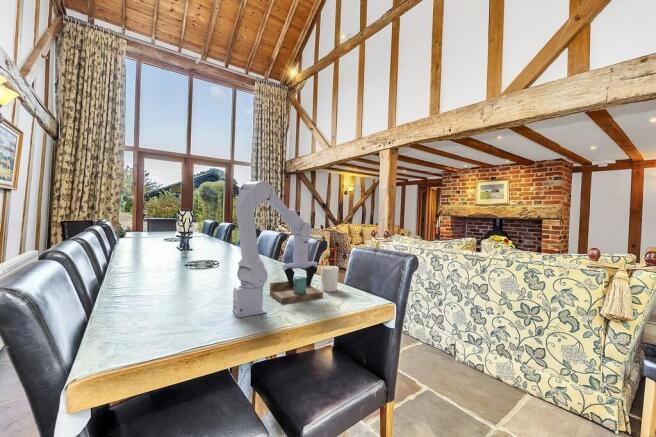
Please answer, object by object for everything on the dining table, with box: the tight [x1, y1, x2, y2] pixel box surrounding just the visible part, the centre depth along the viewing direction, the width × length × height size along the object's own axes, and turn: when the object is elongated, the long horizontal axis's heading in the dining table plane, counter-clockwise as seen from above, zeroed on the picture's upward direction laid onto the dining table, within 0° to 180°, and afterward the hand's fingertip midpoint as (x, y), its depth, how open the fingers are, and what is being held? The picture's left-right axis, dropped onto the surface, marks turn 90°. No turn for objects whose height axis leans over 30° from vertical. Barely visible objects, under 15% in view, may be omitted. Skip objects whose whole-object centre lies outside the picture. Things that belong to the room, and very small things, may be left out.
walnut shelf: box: [269, 279, 324, 304], centre depth 115 cm, size 18×12×5 cm, turn 122°
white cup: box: [320, 265, 340, 293], centre depth 125 cm, size 8×8×10 cm
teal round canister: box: [293, 276, 307, 295], centre depth 112 cm, size 5×5×6 cm
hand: (299, 286), depth 112 cm, fingers open, 7 cm apart
